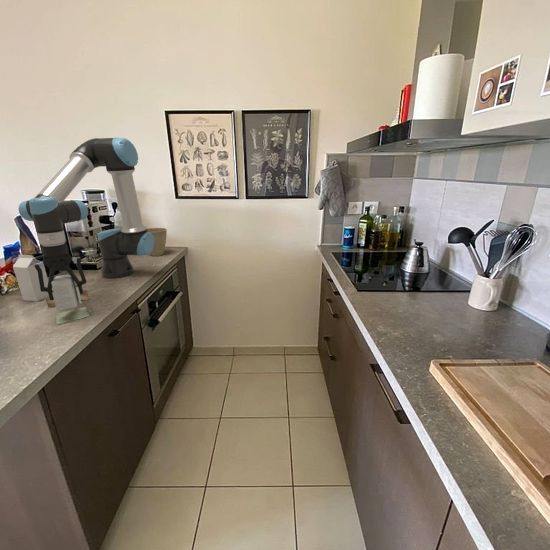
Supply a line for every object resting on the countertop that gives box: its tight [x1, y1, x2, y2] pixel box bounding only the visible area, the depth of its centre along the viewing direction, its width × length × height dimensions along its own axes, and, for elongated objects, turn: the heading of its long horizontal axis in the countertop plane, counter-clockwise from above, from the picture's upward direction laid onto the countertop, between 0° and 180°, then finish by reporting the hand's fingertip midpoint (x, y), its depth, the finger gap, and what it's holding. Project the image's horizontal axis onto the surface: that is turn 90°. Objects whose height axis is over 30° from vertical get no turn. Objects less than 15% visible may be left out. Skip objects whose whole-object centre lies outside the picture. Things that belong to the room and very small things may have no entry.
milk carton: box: [12, 254, 49, 302], centre depth 126 cm, size 7×7×19 cm
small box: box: [51, 274, 79, 311], centre depth 110 cm, size 8×6×10 cm
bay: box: [44, 289, 90, 326], centre depth 116 cm, size 14×20×4 cm
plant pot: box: [147, 227, 168, 257], centre depth 190 cm, size 15×15×16 cm
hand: (69, 304), depth 111 cm, fingers closed on small box, 6 cm apart
